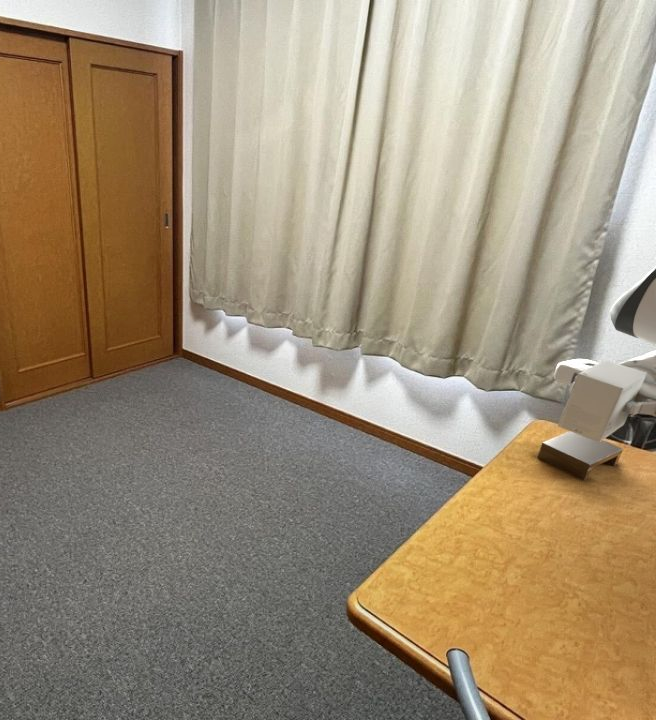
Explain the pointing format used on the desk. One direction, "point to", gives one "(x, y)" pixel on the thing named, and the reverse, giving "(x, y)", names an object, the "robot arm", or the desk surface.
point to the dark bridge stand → (578, 453)
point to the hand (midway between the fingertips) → (600, 399)
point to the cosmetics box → (601, 399)
